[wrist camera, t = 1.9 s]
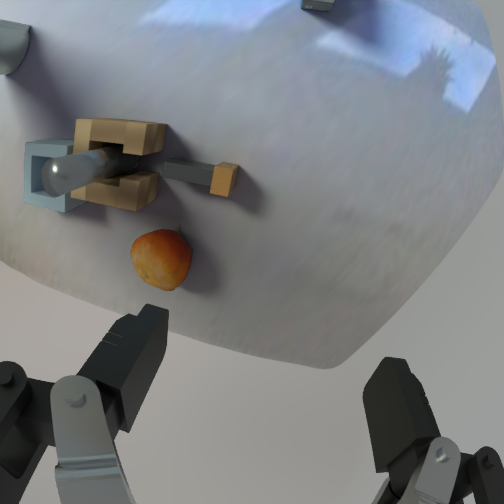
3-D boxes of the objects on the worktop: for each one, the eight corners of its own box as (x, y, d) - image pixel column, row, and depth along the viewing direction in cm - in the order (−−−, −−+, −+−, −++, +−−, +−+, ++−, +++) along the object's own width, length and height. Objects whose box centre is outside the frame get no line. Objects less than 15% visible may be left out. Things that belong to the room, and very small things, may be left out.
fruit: (218, 253, 38) (179, 296, 33) (189, 265, 43) (154, 302, 38) (178, 204, 36) (133, 241, 31) (154, 224, 41) (116, 258, 36)
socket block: (102, 118, 33) (76, 118, 27) (167, 124, 33) (146, 124, 27) (95, 187, 37) (70, 197, 31) (155, 199, 37) (136, 211, 32)
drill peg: (118, 142, 34) (42, 157, 21) (140, 145, 34) (68, 160, 21) (115, 168, 36) (41, 194, 22) (137, 171, 36) (66, 199, 22)
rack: (48, 138, 34) (25, 142, 29) (91, 141, 34) (67, 145, 29) (46, 193, 38) (24, 202, 33) (86, 202, 38) (64, 212, 33)
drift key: (176, 153, 34) (162, 156, 30) (239, 165, 34) (233, 170, 30) (172, 176, 35) (158, 182, 31) (234, 188, 35) (227, 197, 31)
